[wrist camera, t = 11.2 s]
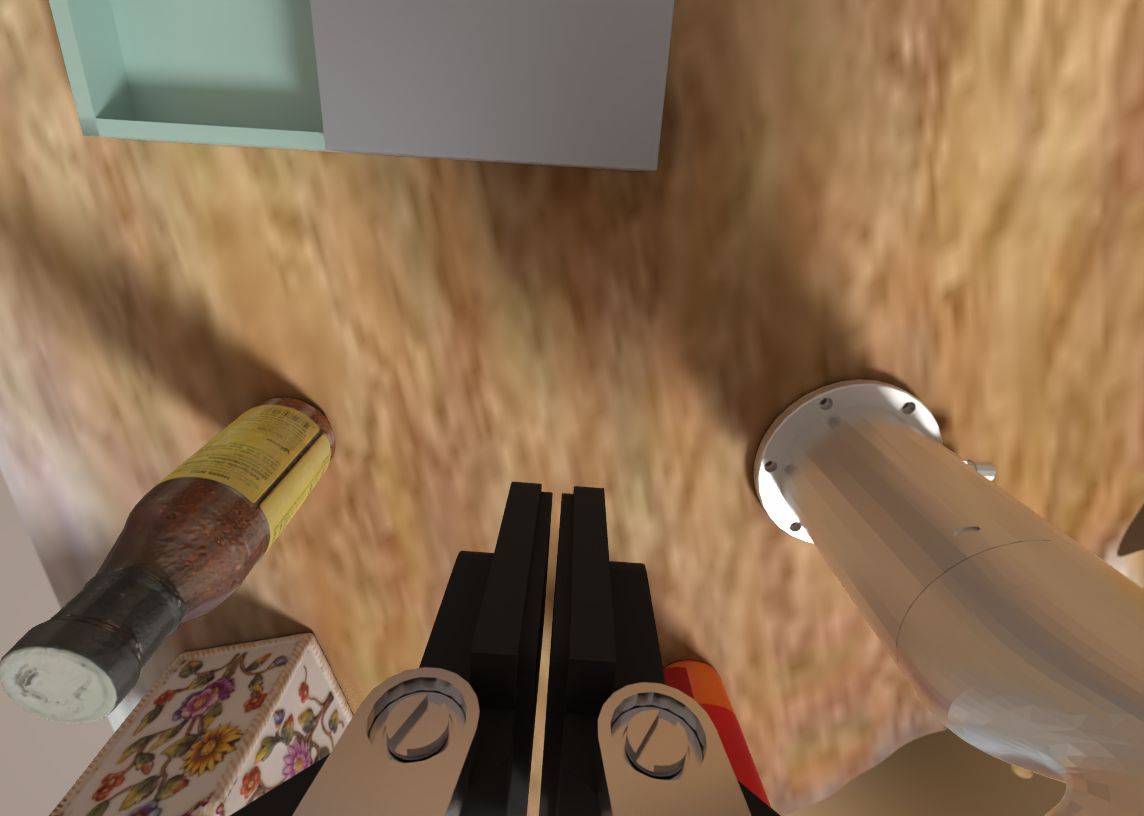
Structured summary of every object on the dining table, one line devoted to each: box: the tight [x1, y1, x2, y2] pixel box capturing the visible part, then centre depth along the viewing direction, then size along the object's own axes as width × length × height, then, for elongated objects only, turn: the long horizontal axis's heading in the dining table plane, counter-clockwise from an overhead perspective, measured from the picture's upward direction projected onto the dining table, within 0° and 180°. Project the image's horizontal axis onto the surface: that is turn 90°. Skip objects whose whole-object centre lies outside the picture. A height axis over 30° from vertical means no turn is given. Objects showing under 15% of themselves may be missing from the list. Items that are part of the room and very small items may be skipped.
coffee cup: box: [663, 660, 771, 808], centre depth 40 cm, size 8×8×15 cm
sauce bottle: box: [0, 397, 335, 724], centre depth 29 cm, size 7×6×20 cm
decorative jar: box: [49, 633, 354, 816], centre depth 39 cm, size 12×12×18 cm
